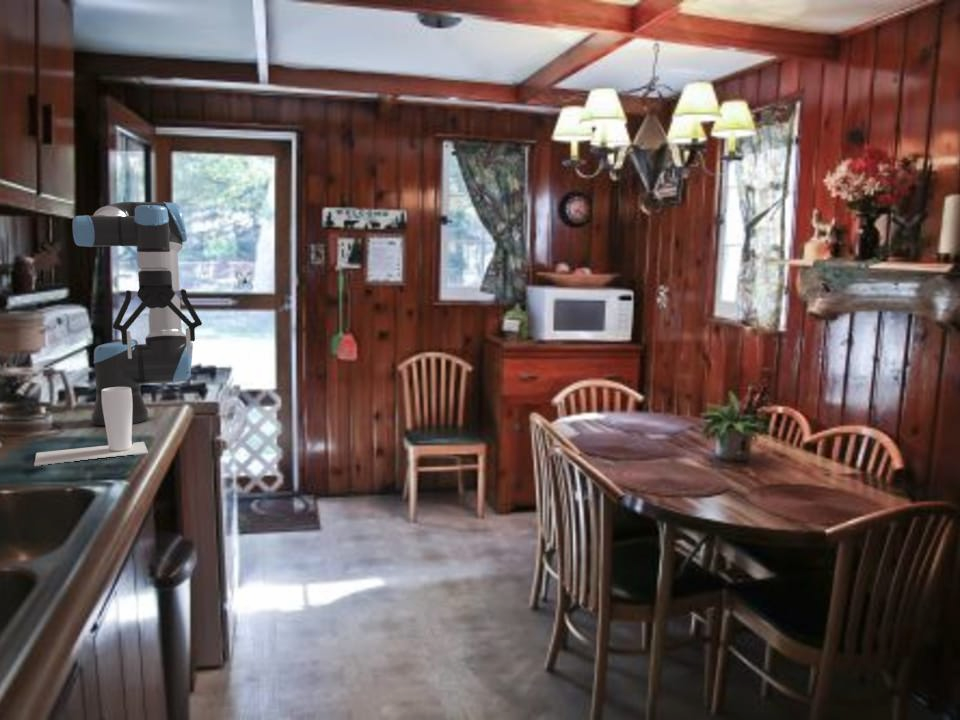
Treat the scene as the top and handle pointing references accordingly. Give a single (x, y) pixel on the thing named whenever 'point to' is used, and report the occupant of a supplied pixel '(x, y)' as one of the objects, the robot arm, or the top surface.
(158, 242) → the robot arm
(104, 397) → the white cup
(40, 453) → the rubber mat
